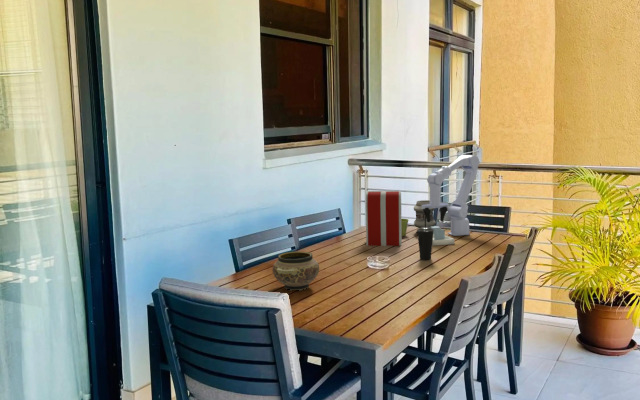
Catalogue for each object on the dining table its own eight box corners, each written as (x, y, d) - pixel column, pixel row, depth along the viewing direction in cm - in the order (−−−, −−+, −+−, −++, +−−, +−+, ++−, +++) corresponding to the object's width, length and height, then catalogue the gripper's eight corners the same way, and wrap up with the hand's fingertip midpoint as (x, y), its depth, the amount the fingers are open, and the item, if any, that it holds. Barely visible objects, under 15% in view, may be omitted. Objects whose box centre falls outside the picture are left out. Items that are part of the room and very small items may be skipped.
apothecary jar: (410, 232, 335) (409, 200, 333) (429, 230, 339) (429, 199, 336) (419, 235, 324) (419, 203, 321) (439, 234, 327) (439, 201, 325)
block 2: (441, 240, 306) (441, 228, 305) (444, 241, 302) (444, 229, 301) (434, 240, 305) (434, 229, 304) (437, 242, 301) (437, 230, 300)
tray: (442, 238, 315) (442, 233, 314) (454, 243, 300) (454, 239, 300) (421, 239, 312) (421, 235, 312) (432, 245, 298) (432, 240, 297)
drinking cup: (434, 261, 265) (433, 217, 262) (416, 261, 266) (416, 217, 264) (434, 257, 272) (434, 214, 270) (417, 257, 274) (417, 214, 271)
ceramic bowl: (295, 284, 244) (286, 249, 243) (334, 277, 236) (324, 241, 235) (266, 302, 221) (256, 263, 221) (307, 294, 214) (297, 254, 213)
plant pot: (410, 236, 321) (409, 221, 320) (392, 237, 322) (392, 221, 321) (407, 233, 331) (407, 218, 330) (390, 234, 331) (390, 218, 330)
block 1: (437, 237, 319) (437, 226, 318) (440, 238, 315) (440, 227, 314) (430, 237, 318) (430, 226, 317) (433, 239, 314) (433, 227, 313)
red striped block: (401, 245, 299) (400, 192, 296) (366, 245, 302) (365, 193, 299) (401, 239, 316) (401, 188, 312) (368, 239, 318) (367, 189, 315)
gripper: (425, 197, 308) (425, 223, 310) (451, 196, 311) (451, 221, 313) (420, 196, 315) (420, 221, 317) (445, 194, 318) (445, 219, 320)
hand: (435, 221), depth 315 cm, fingers open, 7 cm apart
